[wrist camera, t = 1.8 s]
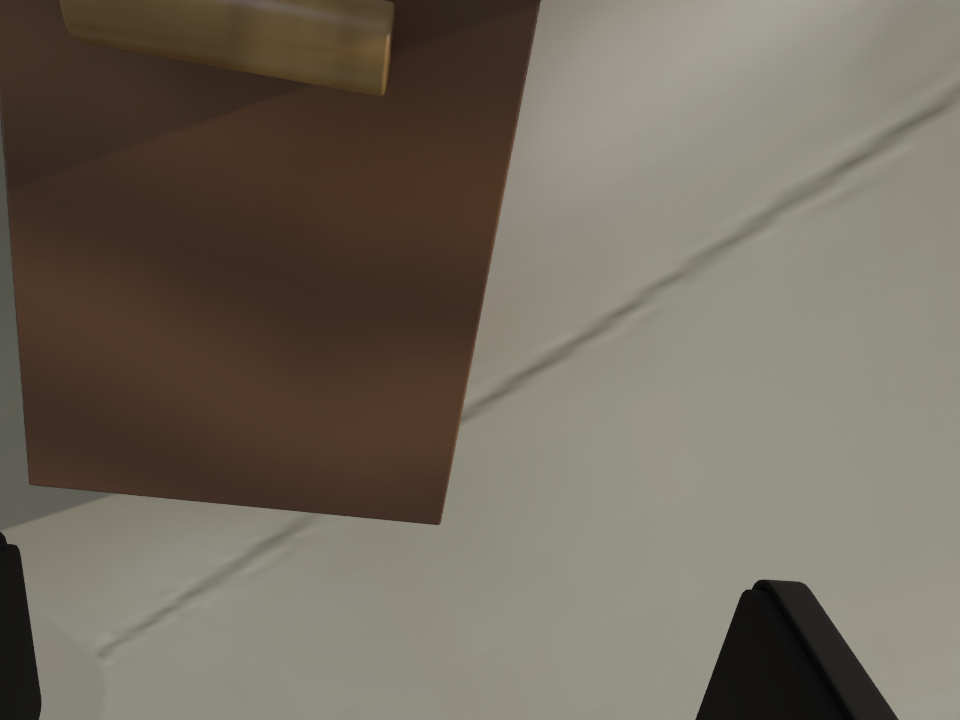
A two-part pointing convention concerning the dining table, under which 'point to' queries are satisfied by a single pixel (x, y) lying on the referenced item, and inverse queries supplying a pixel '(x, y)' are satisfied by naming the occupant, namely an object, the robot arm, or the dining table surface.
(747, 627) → the robot arm
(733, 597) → the dining table surface
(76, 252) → the chest lid
